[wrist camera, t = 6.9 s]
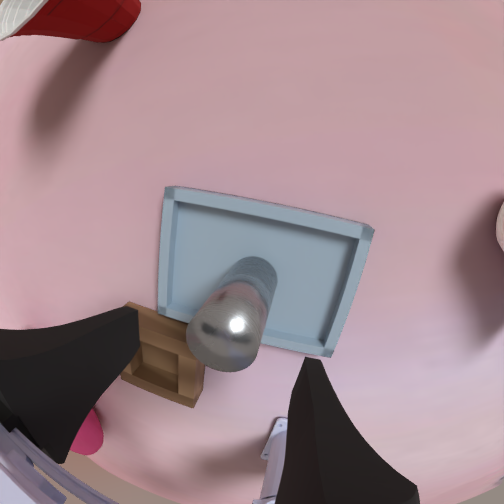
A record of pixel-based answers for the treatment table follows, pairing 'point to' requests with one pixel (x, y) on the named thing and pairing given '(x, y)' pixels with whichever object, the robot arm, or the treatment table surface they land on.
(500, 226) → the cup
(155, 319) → the socket block
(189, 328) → the dowel
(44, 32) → the plastic cup
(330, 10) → the treatment table surface
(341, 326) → the tray
